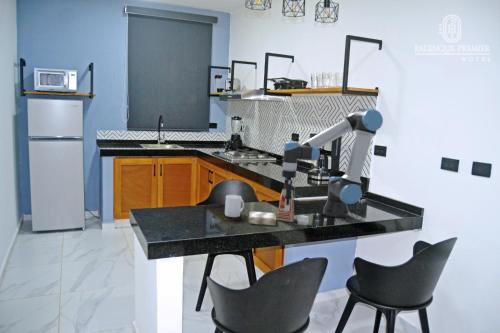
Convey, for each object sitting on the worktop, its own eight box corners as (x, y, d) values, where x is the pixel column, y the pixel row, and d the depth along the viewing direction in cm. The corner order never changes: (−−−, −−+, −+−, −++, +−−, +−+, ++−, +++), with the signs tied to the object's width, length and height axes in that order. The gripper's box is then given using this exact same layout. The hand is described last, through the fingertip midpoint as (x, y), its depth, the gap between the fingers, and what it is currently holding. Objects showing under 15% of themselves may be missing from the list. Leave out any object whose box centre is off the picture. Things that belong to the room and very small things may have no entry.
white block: (307, 222, 225) (308, 215, 224) (308, 225, 219) (309, 218, 219) (296, 222, 225) (297, 214, 225) (297, 225, 219) (298, 217, 219)
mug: (248, 215, 230) (249, 197, 228) (230, 218, 222) (232, 198, 221) (238, 212, 236) (239, 194, 235) (221, 214, 229) (222, 195, 227)
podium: (274, 218, 228) (274, 212, 228) (275, 225, 214) (276, 219, 214) (249, 216, 228) (249, 210, 228) (248, 223, 214) (249, 217, 214)
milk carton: (292, 221, 225) (295, 185, 222) (275, 219, 226) (278, 183, 224) (294, 217, 234) (297, 183, 231) (277, 215, 235) (280, 181, 233)
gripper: (281, 166, 239) (278, 202, 242) (284, 172, 214) (280, 212, 217) (294, 167, 239) (290, 203, 242) (298, 173, 214) (294, 213, 217)
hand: (285, 207), depth 229 cm, fingers open, 13 cm apart
